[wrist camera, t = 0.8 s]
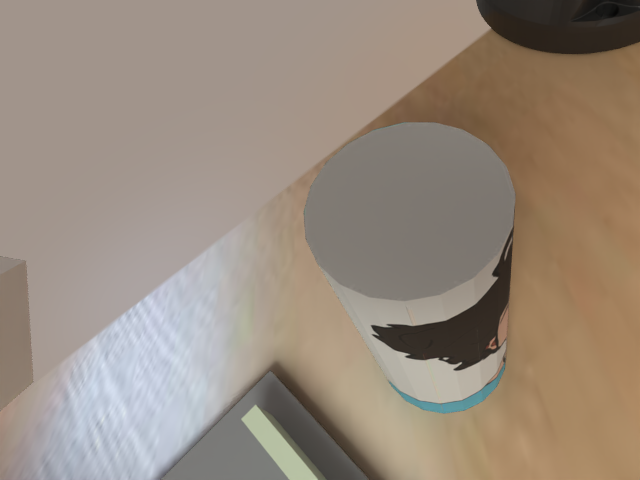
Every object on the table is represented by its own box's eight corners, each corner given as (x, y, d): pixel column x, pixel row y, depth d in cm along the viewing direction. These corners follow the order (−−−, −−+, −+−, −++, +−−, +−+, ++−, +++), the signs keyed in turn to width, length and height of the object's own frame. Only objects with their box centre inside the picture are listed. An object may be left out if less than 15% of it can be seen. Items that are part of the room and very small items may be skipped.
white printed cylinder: (528, 390, 28) (556, 256, 15) (402, 429, 29) (329, 331, 16) (477, 278, 31) (466, 95, 19) (366, 315, 32) (285, 162, 20)
